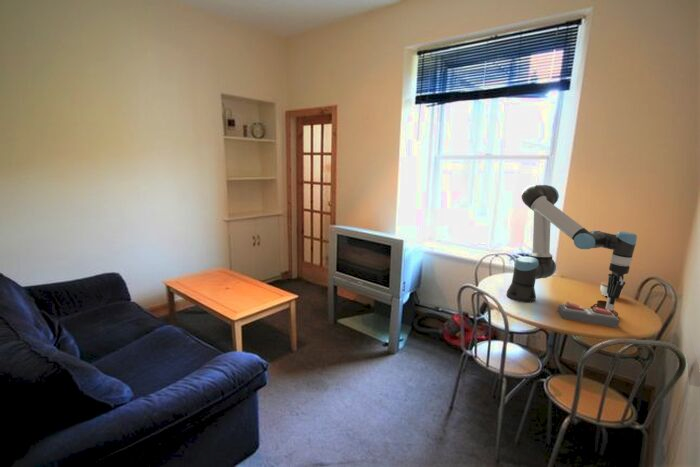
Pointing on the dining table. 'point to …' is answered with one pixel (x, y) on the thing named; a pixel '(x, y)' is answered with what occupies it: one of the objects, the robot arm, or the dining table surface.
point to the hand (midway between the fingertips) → (609, 309)
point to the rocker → (574, 306)
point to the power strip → (587, 316)
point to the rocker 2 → (602, 310)
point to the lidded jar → (604, 288)
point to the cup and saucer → (603, 306)
